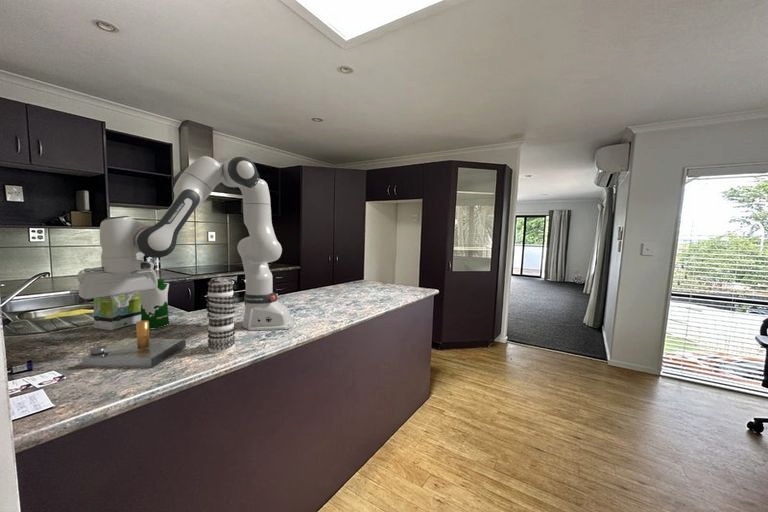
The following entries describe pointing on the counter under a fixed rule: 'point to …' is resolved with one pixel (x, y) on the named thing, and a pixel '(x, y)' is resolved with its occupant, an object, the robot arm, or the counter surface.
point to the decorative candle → (220, 315)
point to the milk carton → (155, 305)
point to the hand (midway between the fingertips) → (122, 306)
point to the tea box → (116, 312)
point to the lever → (142, 343)
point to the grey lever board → (136, 354)
